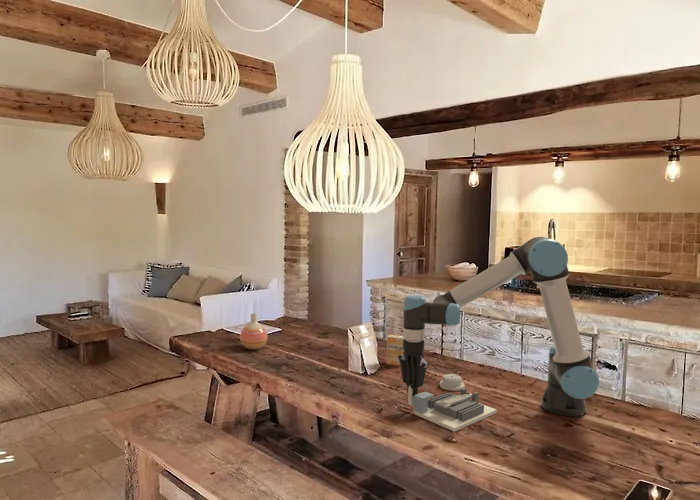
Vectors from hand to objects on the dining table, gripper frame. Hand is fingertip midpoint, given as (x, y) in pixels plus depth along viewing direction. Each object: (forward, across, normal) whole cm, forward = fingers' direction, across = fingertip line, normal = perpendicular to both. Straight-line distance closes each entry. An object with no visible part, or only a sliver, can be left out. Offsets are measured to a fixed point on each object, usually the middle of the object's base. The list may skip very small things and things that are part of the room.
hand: (412, 403), depth 181 cm
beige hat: (+3, +6, -31) cm, 32 cm away
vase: (+3, +103, +6) cm, 103 cm away
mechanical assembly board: (+3, -11, -10) cm, 16 cm away
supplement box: (+3, +41, -33) cm, 53 cm away
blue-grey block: (+1, -4, -2) cm, 5 cm away
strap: (-2, -11, -11) cm, 16 cm away
